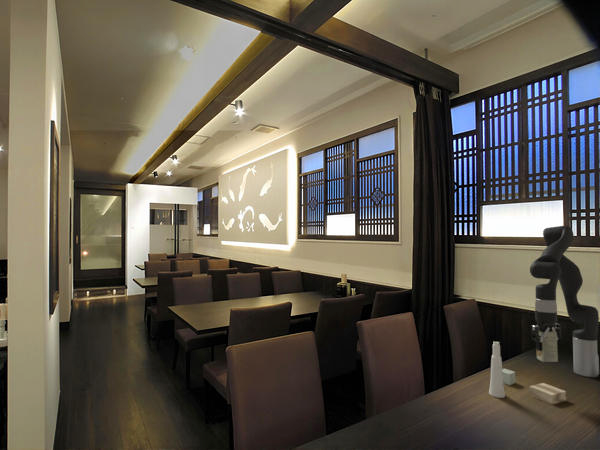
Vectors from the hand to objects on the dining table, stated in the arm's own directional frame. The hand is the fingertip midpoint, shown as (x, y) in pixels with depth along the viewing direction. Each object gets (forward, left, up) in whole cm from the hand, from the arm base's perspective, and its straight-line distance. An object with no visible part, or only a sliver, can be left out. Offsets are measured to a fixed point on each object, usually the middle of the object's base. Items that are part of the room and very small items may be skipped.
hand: (546, 349), depth 146 cm
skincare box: (0, 0, -5) cm, 5 cm away
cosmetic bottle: (+18, -8, -20) cm, 28 cm away
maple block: (0, 0, -20) cm, 20 cm away
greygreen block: (+3, -17, -20) cm, 26 cm away
